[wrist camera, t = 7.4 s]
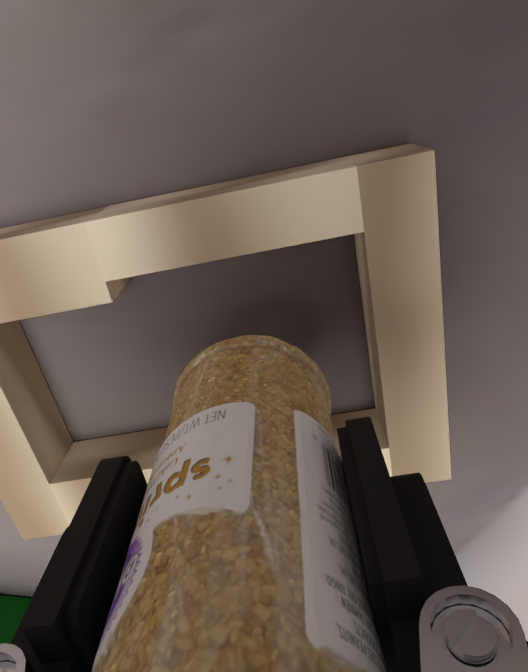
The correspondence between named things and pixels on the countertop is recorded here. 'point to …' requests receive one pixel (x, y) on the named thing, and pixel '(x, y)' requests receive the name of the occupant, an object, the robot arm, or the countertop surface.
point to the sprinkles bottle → (245, 530)
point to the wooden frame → (215, 244)
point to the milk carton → (11, 616)
